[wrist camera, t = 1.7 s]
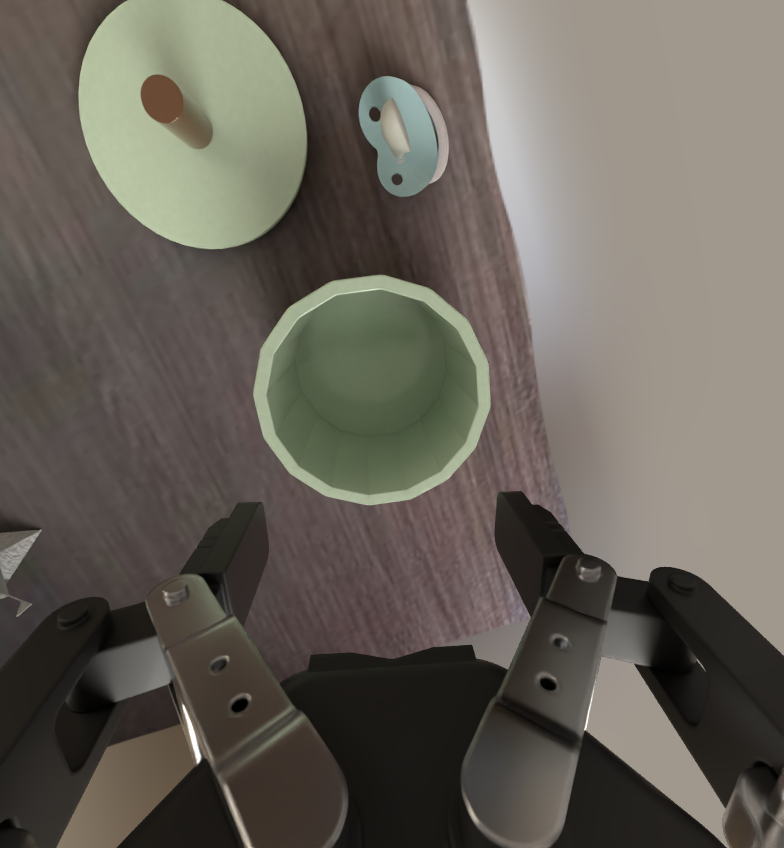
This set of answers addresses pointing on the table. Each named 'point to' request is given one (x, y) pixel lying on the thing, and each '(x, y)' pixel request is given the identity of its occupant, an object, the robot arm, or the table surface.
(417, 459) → the crock
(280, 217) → the lid
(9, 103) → the table surface
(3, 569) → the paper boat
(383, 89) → the pacifier
